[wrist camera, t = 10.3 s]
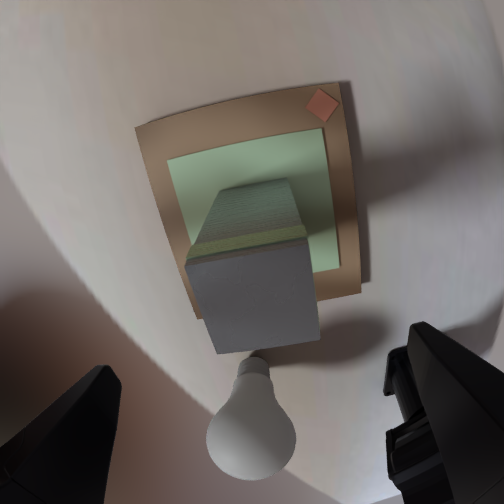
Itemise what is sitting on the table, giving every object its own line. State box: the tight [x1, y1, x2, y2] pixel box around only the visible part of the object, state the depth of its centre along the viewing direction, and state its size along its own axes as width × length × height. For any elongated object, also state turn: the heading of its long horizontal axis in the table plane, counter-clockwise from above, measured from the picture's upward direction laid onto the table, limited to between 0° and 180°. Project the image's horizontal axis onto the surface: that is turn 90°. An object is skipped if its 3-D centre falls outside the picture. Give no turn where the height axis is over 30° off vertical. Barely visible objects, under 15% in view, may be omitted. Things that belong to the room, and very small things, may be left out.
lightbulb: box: [206, 357, 296, 480], centre depth 21 cm, size 6×6×11 cm
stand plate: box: [135, 83, 361, 319], centre depth 19 cm, size 14×12×1 cm
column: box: [184, 177, 321, 354], centre depth 15 cm, size 4×4×9 cm
